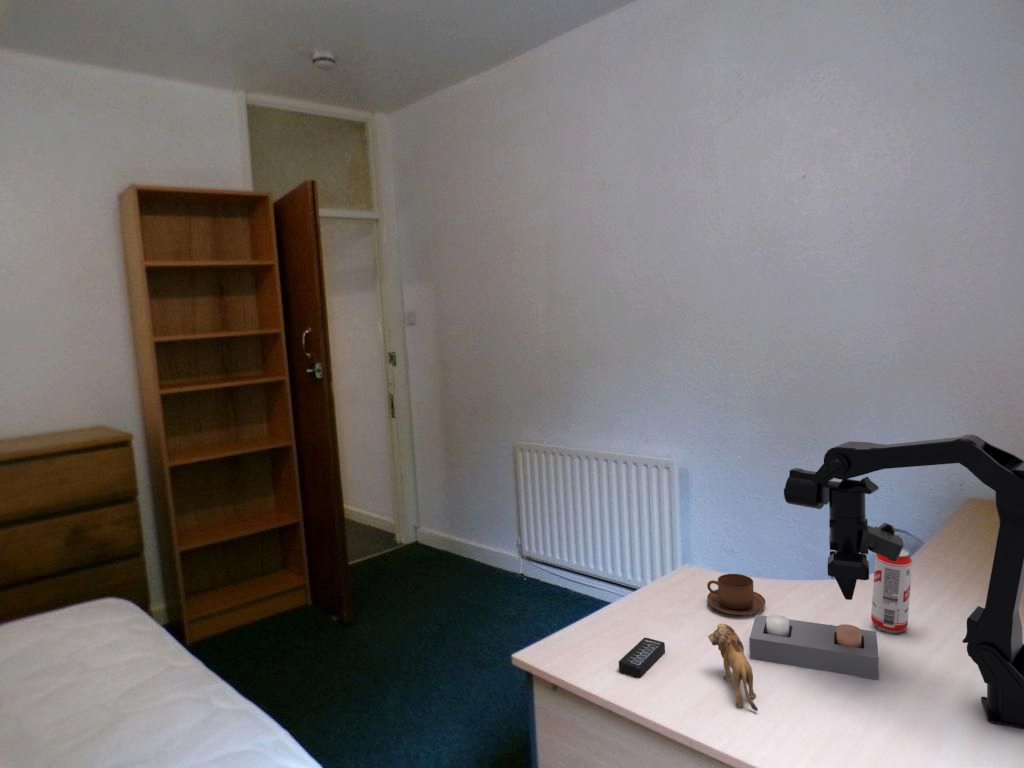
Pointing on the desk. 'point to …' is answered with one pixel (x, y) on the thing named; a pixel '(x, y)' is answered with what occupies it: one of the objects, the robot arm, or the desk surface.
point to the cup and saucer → (735, 595)
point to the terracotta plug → (849, 636)
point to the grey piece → (777, 625)
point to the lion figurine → (734, 661)
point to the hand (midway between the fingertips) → (848, 597)
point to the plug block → (815, 648)
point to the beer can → (891, 592)
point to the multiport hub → (641, 657)
